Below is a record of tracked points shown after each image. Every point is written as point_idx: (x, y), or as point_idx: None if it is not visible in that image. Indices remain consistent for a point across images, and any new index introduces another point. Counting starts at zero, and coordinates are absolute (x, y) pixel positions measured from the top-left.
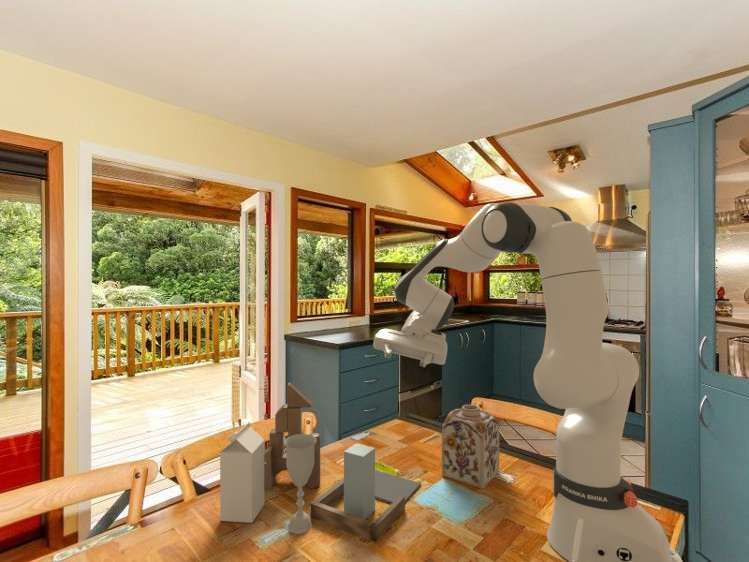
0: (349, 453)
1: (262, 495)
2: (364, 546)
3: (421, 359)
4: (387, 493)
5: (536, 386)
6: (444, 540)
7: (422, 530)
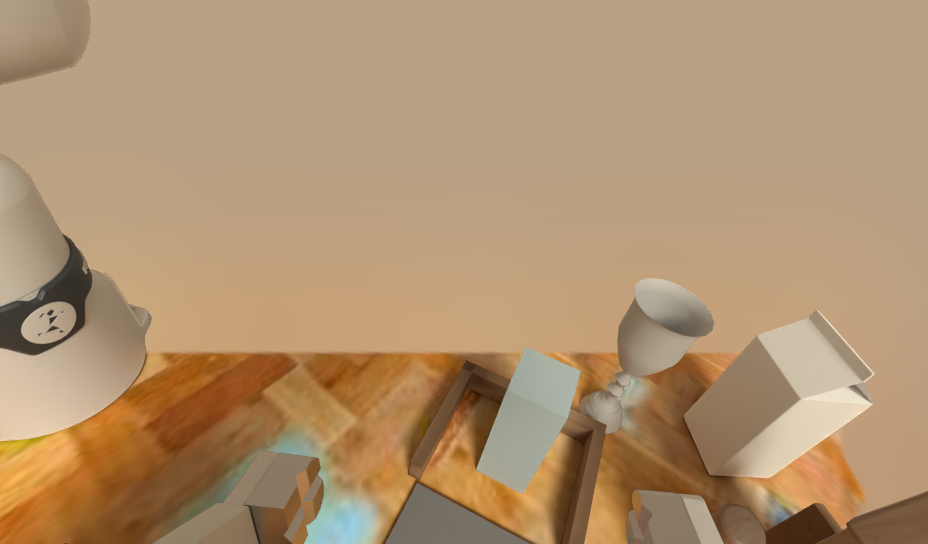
0: (563, 364)
1: (717, 451)
2: None
3: (299, 467)
4: (453, 536)
5: (79, 26)
6: (341, 383)
7: (377, 407)
